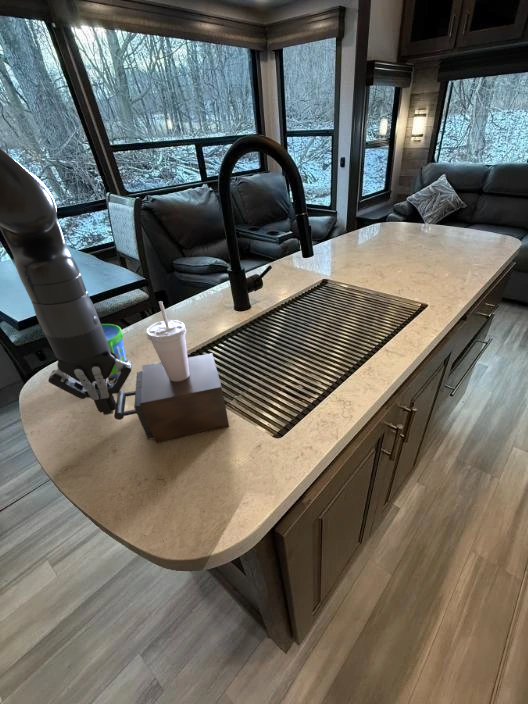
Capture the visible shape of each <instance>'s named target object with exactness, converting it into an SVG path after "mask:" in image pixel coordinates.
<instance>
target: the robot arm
mask: <svg viewBox="0 0 528 704" xmlns="http://www.w3.org/2000/svg"><path fill="white" fill-rule="evenodd" d="M0 231H1V234H2V236H3V238H4V239H5V242H6V243H7V245H8V248H9V249H10V251H11V253H12V257H13V259H14V264H15V265H14V266H15V269H16V271H17V274H18V276H19V279H20V281H21V283H22V285H23V287H24V289H25V291H26V294H27V295H28V297H29V299H30V301H31V304H32V308H33V311H34V313H35V317H36V318H37V321H38V324H39V327H40V329H41V330H42V331H43V333H44V335H45V337H46V339H47V341H48V344H49V345H50V347H51V349H52V352H53V354H54V356H55V357H56V359H57V364H56V366H57V368H56V369H53V370H52V371H51V373H50V374H49V377H48V379H47V380H48V383H49V384H51V385H53V386H55V387H57V388H59V389H60V390H63V391H64V392H66V393H69V394H70V395H72V396H74V397H75V398H77V399H80V400H85V399H91V400H92V401H93V402H94V405H95V407H96V409H97V411H98V412H99V413H102V414H103V415H104V416H106V415H112V414H114V412H115V407H116V400H115V397H114V395H117V394H118V393H119V391H121V390H122V388H123V386H124V384H125V382H126V381H127V379H128V378H129V376H130V374H131V372H132V367H133V362H132V361H131V360H129V359H127V360H126V361H125V362H124V361H122V360H119V359H117V358H116V355H115V354H114V353H113V352H112V351H111V350H110V348H109V345H108V342H107V339H106V337H105V334H104V331H103V329H102V326H101V324H102V323H101V321H100V318H99V315H98V313H97V310H96V307H95V305H94V303H93V300H92V299H91V298H90V295H89V293H88V291H87V288H86V286H85V283H84V280H83V277H82V274H81V272H80V269H79V267H78V265H77V263H76V260H75V259H74V257H73V255H72V254H71V252H70V250H69V247H68V246H67V243H66V239H65V237H64V234H63V231H62V227H61V224H60V222H59V219H58V211H57V204H56V202H55V199H54V197H53V195H52V194H51V192H50V190H49V189H48V188H47V187H46V185H45V184H44V183H43V182H42V181H41V180H40V179H39V178H38V177H37V176H36V175H34V174H33V173H32V172H30V171H29V170H28V169H26V168H25V167H24V166H23V165H21V164H20V163H19V161H17V160H16V159H14V158H13V157H12V156H11V155H10V154H9V153H8V152H7V151H5V149H3V148H1V147H0ZM114 365H115V366H116V368H117V369H116V371H117V373H118V374H117V376H116V377H114V379H113V381H112V383H110V380H109V379H108V377H109V375H110V373H111V371H112V369H113V367H114Z"/></svg>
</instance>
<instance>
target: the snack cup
mask: <svg viewBox="0 0 528 704" xmlns="http://www.w3.org/2000/svg"><path fill="white" fill-rule="evenodd" d="M101 326H102V329H103V331H104V334H105V337H106V339H107V342H108V345H109V348H110V350H111V351H112V352H113V353H114V354H115V355H116V358H117V359H119V360H122V361H124V362H125V361H126V360H128V359H127V355H126V349H125V344H124V341H123V338H124V333H123V331H122V328H121V327H120V326H119V325H116V324H113V323H101ZM116 369H117V368H116V366H115V365H114V367H113V369H112V371H111V373H110V375H109V377H108V380H109V379H115V378H116V376H117V374H118V373H117V371H116Z"/></svg>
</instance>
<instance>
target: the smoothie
mask: <svg viewBox="0 0 528 704" xmlns="http://www.w3.org/2000/svg"><path fill="white" fill-rule="evenodd" d="M163 303H164V302H163V301H162V300H160V301H158V304H159V305H158V306H159V308H160V311H161V315H162V318H163V320H162V321H158V322H155V323H153V324H151V325H149V326H148V327H147V328H146V329H145V334H146V338H147V339H148V341H150V342H151V344H152V346H153V349H154V350H155V352H156V354H157V356H158V359H159V361H160V362H161V363H162V365H163V367H164V369H165V371H166V373H167V375H168V377H169V379H170V380H171V381H182V380H185V379H187V378H188V377H189V375H190V374H189V365H188V357H189V356H188V349H187V348H188V347H187V339H186V334H187V328H186V325H185V323H184V322H182V321H180V320H175V319H171V320H170V319H168V317H167V313H166V310H165V306H164V304H163Z"/></svg>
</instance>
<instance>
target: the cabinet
mask: <svg viewBox="0 0 528 704" xmlns="http://www.w3.org/2000/svg"><path fill="white" fill-rule="evenodd" d="M215 360H216V359H215V357H214V354H213V353H206V354H205V353H204V354H201V355H194V356H188V365H189V374H190V375H189V377H188V378H187V379H185V380H182V381H171V380H170V379H169V377H168V375H167V373H166V371H165V369H164V367H163V365H162V363H161V361H160V362H154V363H148V364H143V365H141V371H142V379H141V395H140V405H141V408H142V410H143V412H144V415H145V417H146V420H147V422H148V425H149V427H150V430H151V432H152V435H153V437H154V438H153V440H154V442H155V444H161V443H166V442H170V441H174V440H178V439H183V438H187V437H191V436H196V435H200V434H204V433H208V432H212V431H218V430H221V429H222V430H223V429H226V428H230V422H229V418H228V412H227V408H226V403H225V397H224V393H223V392H224V391H223V387H222V384H221V379H220V376H219V372H218V368H217V364H216V361H215Z"/></svg>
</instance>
